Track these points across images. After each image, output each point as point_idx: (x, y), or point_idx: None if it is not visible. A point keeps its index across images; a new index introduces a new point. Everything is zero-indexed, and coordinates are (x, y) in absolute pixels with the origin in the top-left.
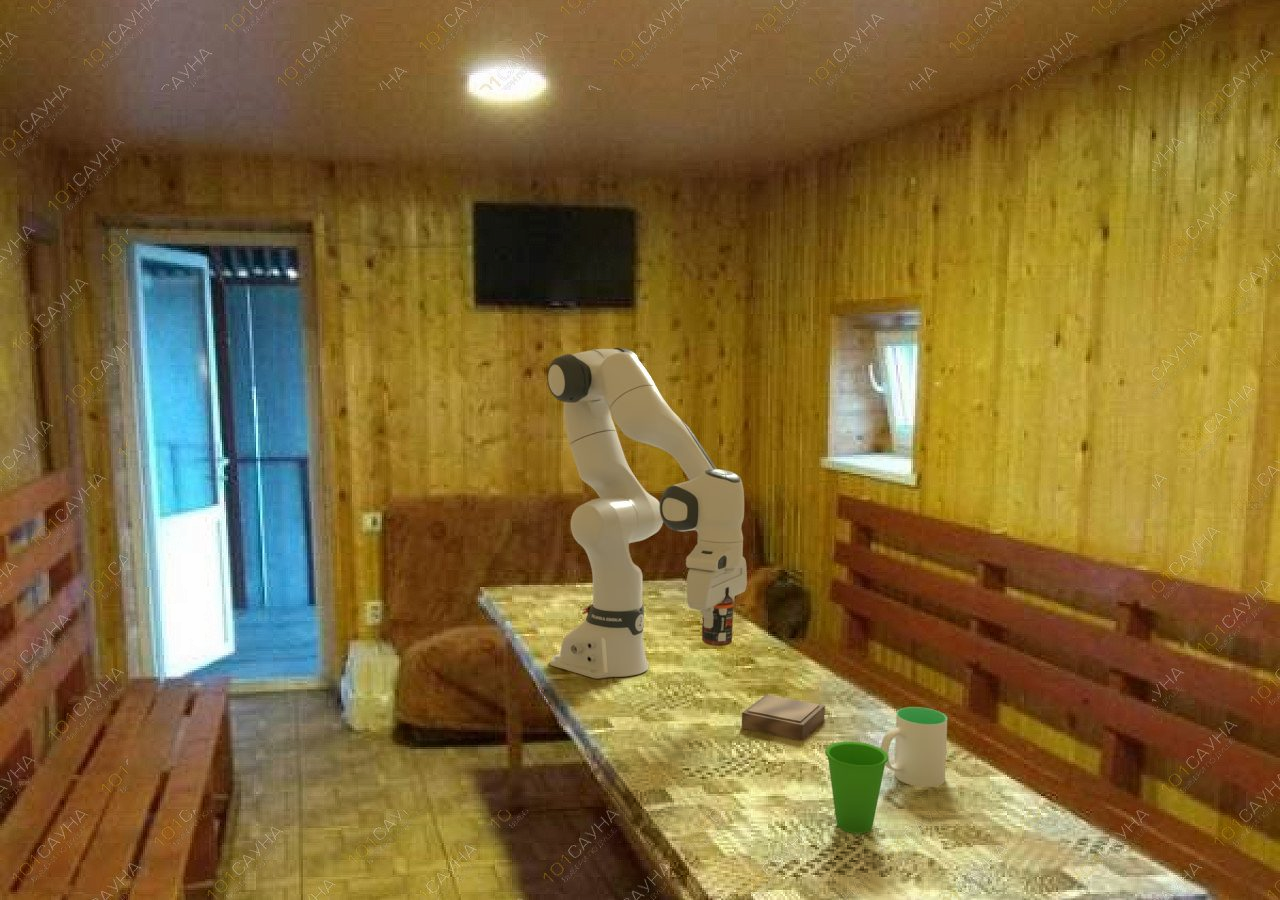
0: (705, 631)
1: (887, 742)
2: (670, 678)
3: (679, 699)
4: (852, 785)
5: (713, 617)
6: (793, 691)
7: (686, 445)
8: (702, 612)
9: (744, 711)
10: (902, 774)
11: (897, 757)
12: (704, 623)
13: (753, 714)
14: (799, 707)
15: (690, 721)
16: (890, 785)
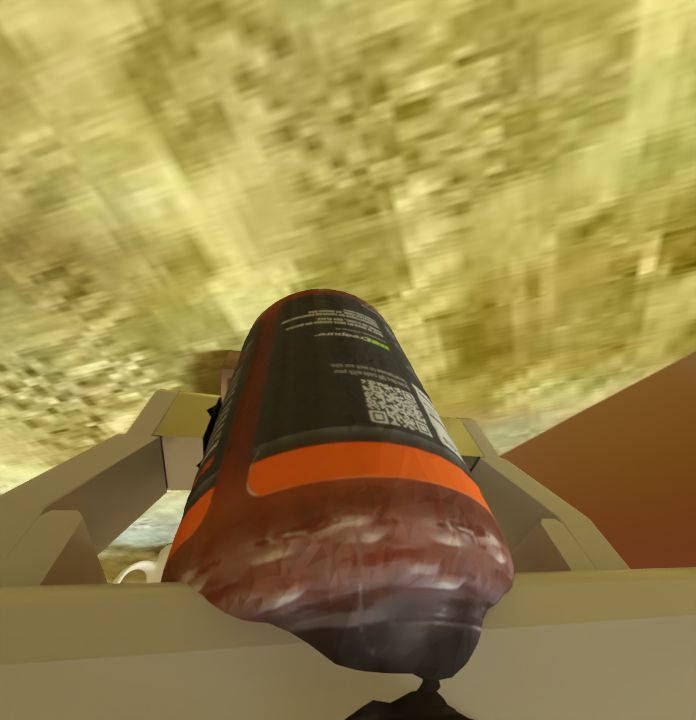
0: (243, 351)
1: None
2: (564, 35)
3: (362, 139)
4: None
5: (152, 503)
6: (475, 386)
7: None
8: (20, 494)
9: (231, 371)
10: (157, 559)
11: (153, 576)
12: (146, 407)
13: (224, 390)
14: None
15: (204, 227)
16: (140, 544)
